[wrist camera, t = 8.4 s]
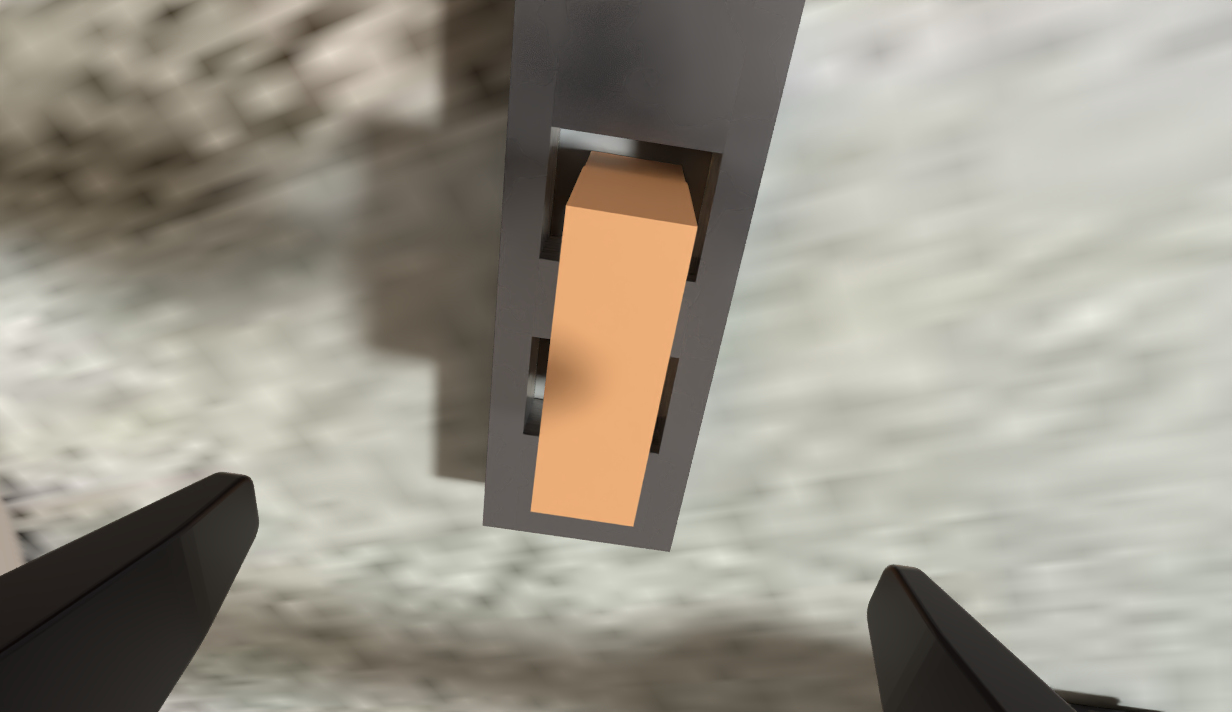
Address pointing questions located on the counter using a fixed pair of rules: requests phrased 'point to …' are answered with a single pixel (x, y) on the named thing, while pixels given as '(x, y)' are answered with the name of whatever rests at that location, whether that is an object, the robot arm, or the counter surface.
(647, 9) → the rail
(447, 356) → the counter surface
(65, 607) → the robot arm
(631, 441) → the clip
